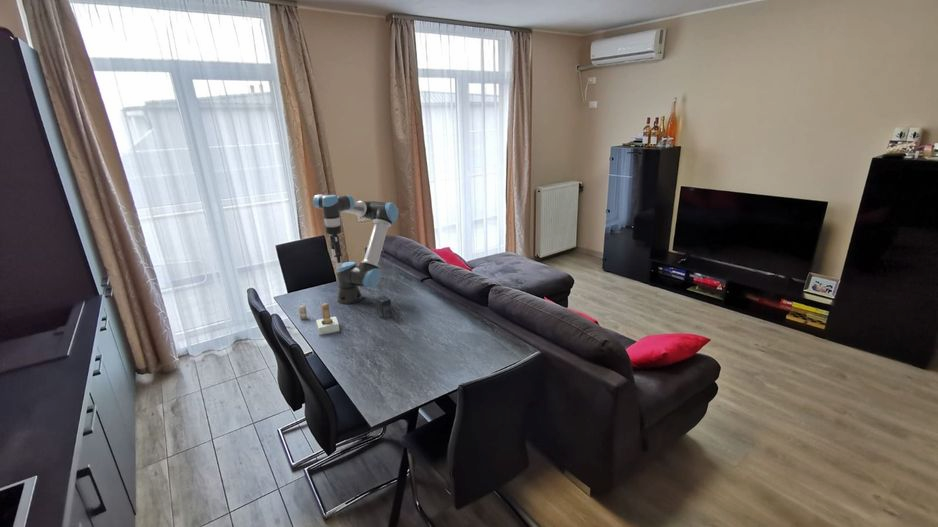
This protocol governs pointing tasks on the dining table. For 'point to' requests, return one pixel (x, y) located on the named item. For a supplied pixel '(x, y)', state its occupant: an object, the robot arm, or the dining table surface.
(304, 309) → the short pin
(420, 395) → the dining table surface
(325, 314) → the long pin
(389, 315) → the box
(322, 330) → the hole block
